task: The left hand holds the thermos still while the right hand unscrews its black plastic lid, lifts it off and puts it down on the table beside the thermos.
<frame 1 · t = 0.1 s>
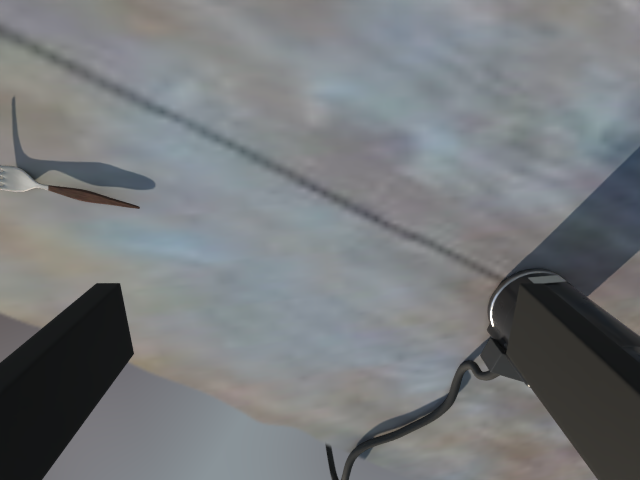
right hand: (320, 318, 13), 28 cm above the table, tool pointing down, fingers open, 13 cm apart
fork: (64, 188, 40), on the table
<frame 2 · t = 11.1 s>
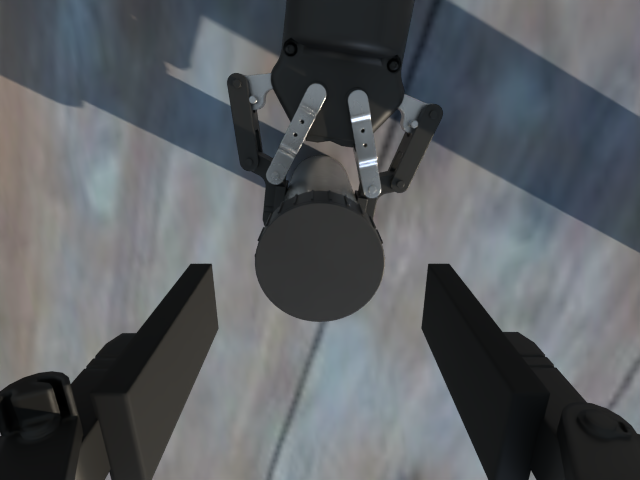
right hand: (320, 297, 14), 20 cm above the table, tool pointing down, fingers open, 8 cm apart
left hand: (315, 237, 28), fingers closed on thermos, 5 cm apart
lid: (319, 262, 17), point 17 cm above the table, screwed on, not yet turned
thermos: (320, 184, 33), on the table, touching left hand
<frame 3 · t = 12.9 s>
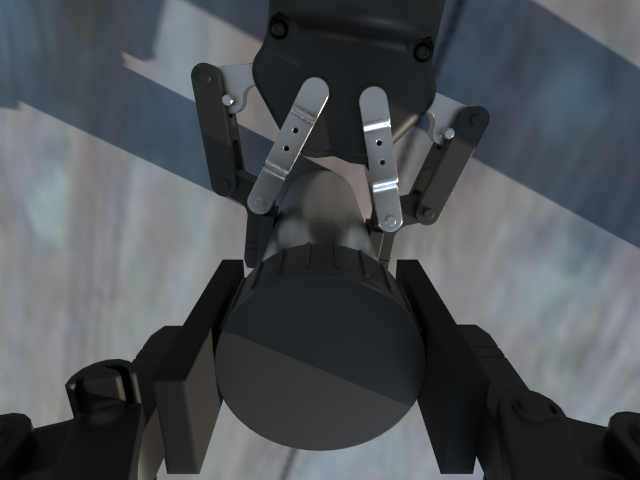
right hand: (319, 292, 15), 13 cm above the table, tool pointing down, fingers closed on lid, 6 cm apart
left hand: (313, 279, 22), fingers closed on thermos, 5 cm apart
lid: (320, 363, 11), point 17 cm above the table, screwed on, not yet turned, touching right hand
thermos: (320, 205, 27), on the table, touching left hand
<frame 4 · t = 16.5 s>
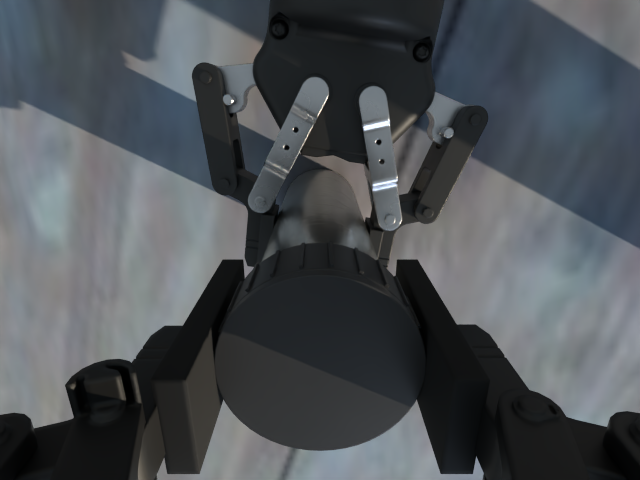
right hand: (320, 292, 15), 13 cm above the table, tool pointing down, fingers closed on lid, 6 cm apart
left hand: (314, 277, 22), fingers closed on thermos, 5 cm apart
lid: (320, 363, 11), point 17 cm above the table, turned 113° so far, risen 0.2 cm, still on its thread, touching right hand
thermos: (320, 204, 27), on the table, touching left hand
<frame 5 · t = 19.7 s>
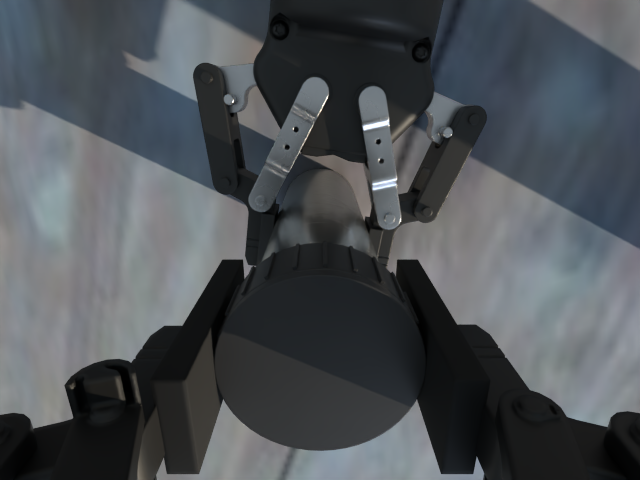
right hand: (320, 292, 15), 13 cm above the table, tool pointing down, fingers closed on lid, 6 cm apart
left hand: (314, 276, 22), fingers closed on thermos, 5 cm apart
lid: (320, 363, 11), point 17 cm above the table, turned 226° so far, risen 0.3 cm, still on its thread, touching right hand
thermos: (320, 203, 27), on the table, touching left hand
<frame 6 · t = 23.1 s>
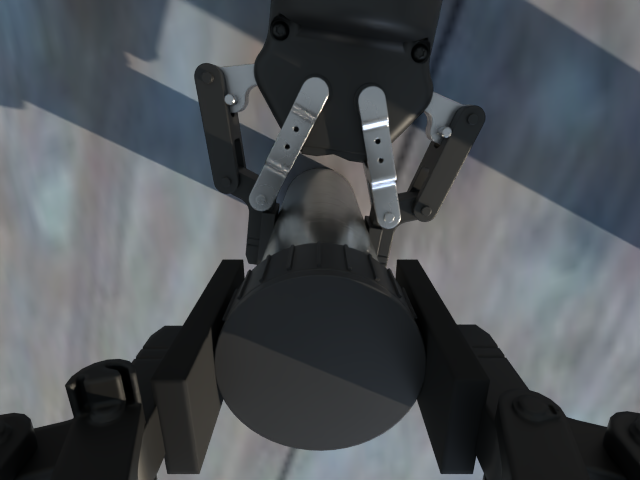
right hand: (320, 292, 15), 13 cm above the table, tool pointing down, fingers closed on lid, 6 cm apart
left hand: (314, 275, 22), fingers closed on thermos, 5 cm apart
lid: (320, 363, 11), point 18 cm above the table, turned 338° so far, risen 0.5 cm, still on its thread, touching right hand
thermos: (320, 203, 27), on the table, touching left hand
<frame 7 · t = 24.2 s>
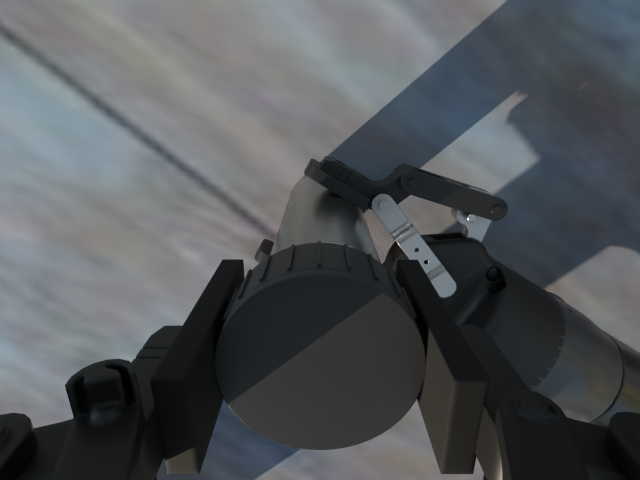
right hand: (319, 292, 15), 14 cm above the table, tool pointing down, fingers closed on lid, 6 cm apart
left hand: (283, 209, 22), fingers closed on thermos, 5 cm apart
lid: (320, 362, 11), point 19 cm above the table, off its thread, touching right hand
thermos: (323, 204, 28), on the table, touching left hand
when the right hand's fingers open (0 cm above the table, at t = 31.1 s): lid drops 2 cm, point 2 cm above the table.
when the left hand's fingers open (6 cm above the table, at t = 31.9 s): thermos stays where it is, on the table.
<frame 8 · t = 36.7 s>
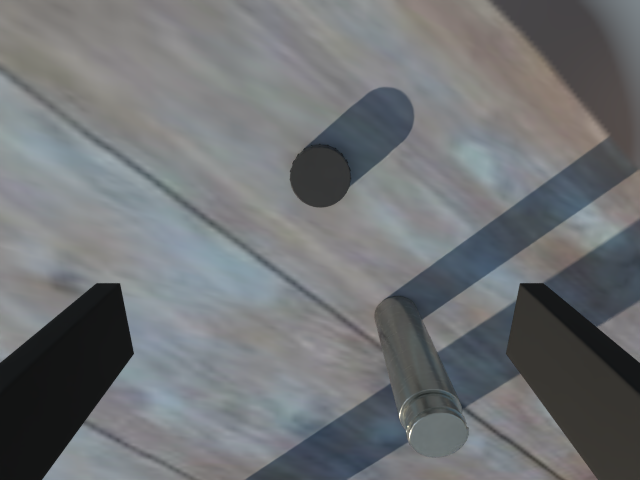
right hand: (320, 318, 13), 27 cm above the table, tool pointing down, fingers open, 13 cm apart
lid: (320, 177, 37), point 2 cm above the table, off its thread
thermos: (395, 315, 44), on the table
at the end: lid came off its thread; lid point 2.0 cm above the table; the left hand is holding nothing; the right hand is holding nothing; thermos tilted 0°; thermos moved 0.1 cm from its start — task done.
